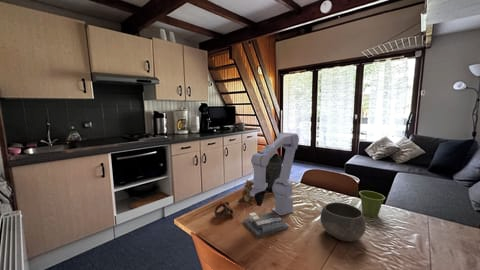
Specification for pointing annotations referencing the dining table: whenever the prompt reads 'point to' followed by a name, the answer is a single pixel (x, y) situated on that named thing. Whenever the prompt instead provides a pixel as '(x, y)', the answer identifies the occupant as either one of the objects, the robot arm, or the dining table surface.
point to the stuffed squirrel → (248, 193)
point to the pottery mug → (224, 210)
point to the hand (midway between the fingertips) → (259, 205)
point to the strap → (267, 221)
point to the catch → (253, 217)
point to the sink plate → (266, 228)
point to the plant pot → (371, 203)
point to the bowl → (343, 221)
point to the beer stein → (273, 170)
